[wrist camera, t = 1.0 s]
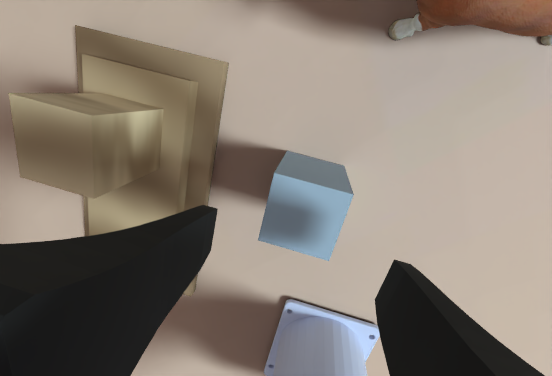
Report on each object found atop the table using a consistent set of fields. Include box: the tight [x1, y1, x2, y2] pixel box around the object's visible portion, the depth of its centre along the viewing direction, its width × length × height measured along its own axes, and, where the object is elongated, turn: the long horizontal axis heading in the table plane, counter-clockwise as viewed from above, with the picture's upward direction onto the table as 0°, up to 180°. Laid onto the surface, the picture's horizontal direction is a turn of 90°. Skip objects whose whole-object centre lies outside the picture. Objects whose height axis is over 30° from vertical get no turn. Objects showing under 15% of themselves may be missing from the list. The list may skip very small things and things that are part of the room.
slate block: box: [258, 151, 354, 261], centre depth 16 cm, size 4×4×6 cm
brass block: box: [8, 93, 163, 199], centre depth 15 cm, size 4×4×6 cm
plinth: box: [75, 25, 229, 297], centre depth 20 cm, size 19×10×2 cm, turn 167°
